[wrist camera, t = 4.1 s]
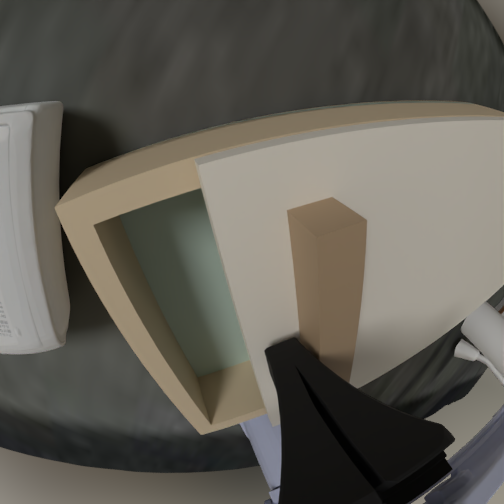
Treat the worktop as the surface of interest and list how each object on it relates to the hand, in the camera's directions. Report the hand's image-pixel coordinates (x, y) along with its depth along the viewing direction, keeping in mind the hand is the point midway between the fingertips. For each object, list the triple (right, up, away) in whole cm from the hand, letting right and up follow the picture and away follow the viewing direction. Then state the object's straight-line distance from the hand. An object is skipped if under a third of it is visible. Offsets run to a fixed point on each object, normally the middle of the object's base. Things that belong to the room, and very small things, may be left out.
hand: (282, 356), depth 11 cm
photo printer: (-13, +10, -6) cm, 17 cm away
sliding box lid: (+11, +4, +3) cm, 12 cm away
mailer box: (+5, +5, +7) cm, 10 cm away
